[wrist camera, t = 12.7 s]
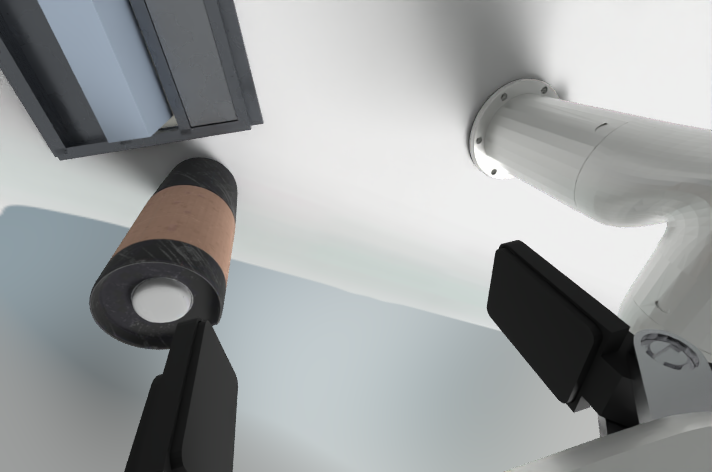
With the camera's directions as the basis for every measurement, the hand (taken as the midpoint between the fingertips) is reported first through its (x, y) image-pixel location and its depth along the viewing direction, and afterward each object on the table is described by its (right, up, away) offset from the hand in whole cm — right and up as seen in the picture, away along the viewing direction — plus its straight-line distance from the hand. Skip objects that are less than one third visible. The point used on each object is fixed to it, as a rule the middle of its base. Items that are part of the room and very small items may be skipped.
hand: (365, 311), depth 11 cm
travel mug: (-18, +8, +27) cm, 33 cm away
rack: (-21, +18, +19) cm, 34 cm away
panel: (-20, +18, +19) cm, 33 cm away
